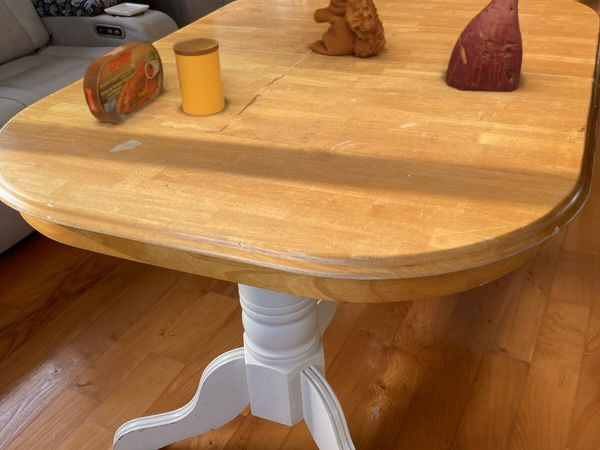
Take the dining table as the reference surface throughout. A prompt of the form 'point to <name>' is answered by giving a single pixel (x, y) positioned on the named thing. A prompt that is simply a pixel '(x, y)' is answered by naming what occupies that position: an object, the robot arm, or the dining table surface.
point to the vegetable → (488, 51)
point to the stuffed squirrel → (350, 29)
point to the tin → (123, 80)
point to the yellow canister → (199, 75)
